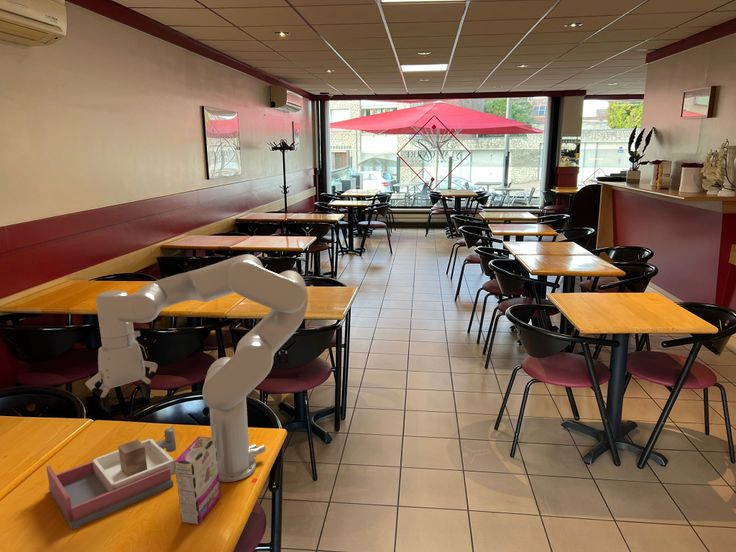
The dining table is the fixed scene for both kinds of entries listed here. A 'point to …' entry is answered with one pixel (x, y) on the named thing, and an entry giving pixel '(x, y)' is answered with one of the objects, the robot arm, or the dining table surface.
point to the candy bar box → (198, 480)
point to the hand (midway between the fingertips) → (126, 403)
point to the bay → (98, 493)
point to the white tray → (156, 459)
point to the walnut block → (132, 458)
